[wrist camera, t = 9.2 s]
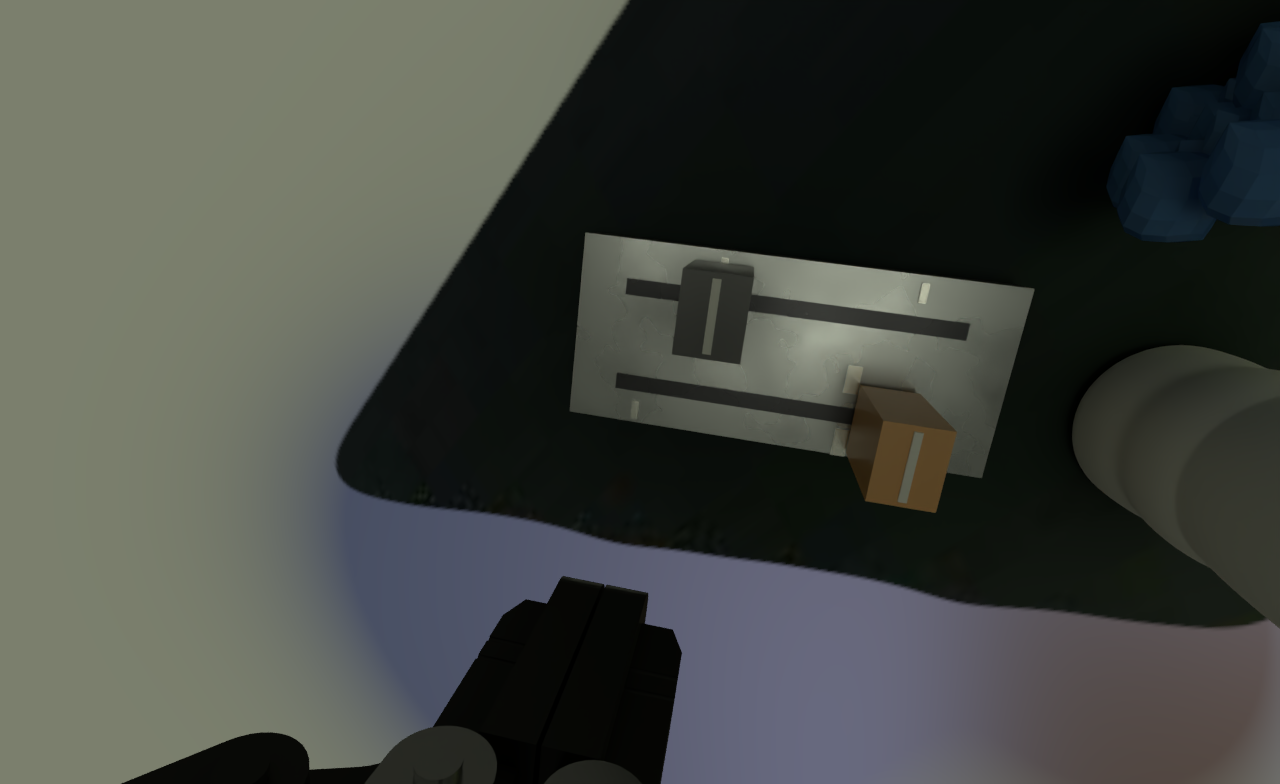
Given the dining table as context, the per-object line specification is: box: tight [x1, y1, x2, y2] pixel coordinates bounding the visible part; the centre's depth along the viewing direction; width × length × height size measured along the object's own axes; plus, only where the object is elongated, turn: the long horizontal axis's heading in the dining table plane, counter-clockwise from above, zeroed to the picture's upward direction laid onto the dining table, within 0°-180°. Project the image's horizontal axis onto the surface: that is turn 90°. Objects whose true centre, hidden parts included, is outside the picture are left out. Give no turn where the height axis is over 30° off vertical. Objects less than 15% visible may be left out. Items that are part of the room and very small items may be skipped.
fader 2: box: [846, 385, 957, 513], centre depth 25 cm, size 3×2×5 cm
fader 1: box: [672, 259, 754, 365], centre depth 25 cm, size 3×2×5 cm
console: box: [570, 232, 1034, 478], centre depth 28 cm, size 8×18×2 cm, turn 83°
